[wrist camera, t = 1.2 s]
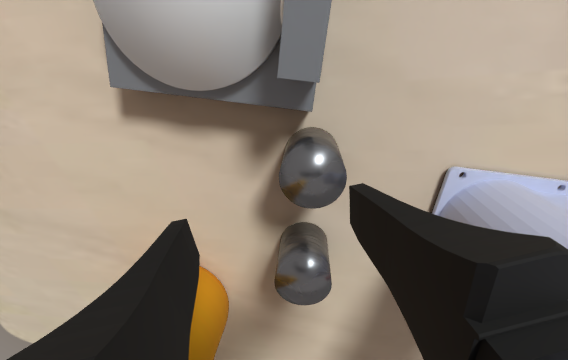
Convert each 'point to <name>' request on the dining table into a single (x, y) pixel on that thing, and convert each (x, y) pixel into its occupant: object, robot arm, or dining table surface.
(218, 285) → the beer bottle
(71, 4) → the dining table surface
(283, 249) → the cylinder
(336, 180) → the ball
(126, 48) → the dial scale
